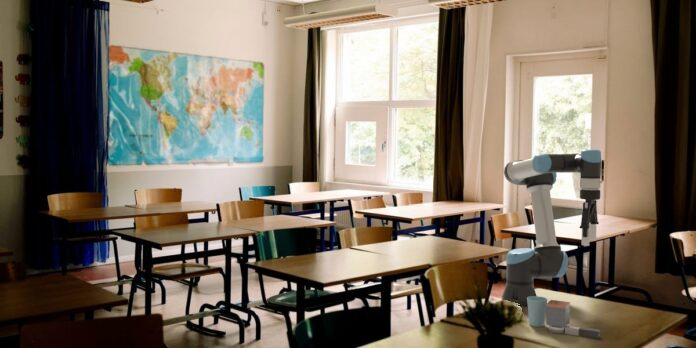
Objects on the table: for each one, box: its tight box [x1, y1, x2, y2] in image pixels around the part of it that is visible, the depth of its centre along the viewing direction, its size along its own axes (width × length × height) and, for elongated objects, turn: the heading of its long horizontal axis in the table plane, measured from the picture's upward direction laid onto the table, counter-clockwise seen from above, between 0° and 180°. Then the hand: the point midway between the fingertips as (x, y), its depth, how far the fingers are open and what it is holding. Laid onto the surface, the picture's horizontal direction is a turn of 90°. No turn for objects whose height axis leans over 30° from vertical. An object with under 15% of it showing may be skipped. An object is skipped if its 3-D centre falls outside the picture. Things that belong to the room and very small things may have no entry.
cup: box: [527, 295, 548, 328], centre depth 265 cm, size 8×8×10 cm
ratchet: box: [548, 325, 601, 340], centre depth 253 cm, size 18×6×8 cm, turn 59°
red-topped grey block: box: [545, 299, 571, 327], centre depth 255 cm, size 7×7×8 cm
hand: (588, 243), depth 266 cm, fingers open, 13 cm apart
